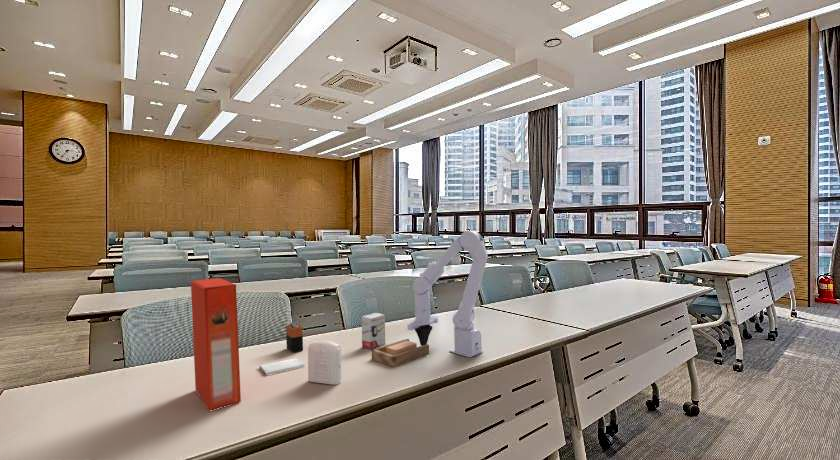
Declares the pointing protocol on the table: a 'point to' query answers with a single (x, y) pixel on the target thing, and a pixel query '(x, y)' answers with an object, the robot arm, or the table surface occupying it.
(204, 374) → the file binder
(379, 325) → the ink box
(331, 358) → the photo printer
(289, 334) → the battery
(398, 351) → the tile front
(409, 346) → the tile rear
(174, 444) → the table surface
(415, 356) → the tray
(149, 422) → the table surface
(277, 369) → the hard drive
